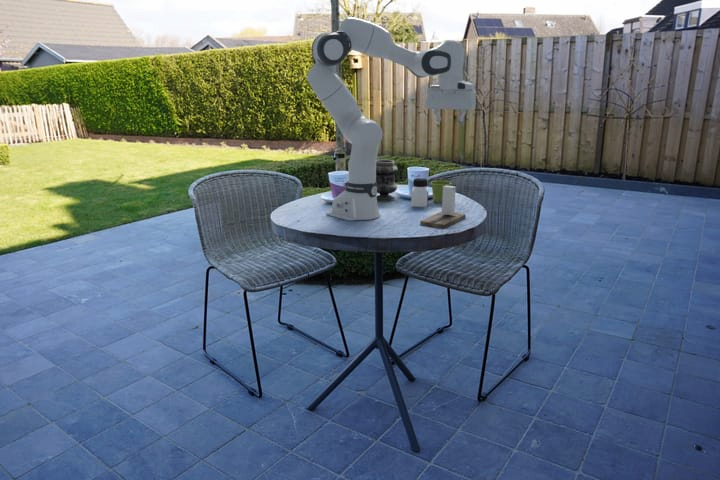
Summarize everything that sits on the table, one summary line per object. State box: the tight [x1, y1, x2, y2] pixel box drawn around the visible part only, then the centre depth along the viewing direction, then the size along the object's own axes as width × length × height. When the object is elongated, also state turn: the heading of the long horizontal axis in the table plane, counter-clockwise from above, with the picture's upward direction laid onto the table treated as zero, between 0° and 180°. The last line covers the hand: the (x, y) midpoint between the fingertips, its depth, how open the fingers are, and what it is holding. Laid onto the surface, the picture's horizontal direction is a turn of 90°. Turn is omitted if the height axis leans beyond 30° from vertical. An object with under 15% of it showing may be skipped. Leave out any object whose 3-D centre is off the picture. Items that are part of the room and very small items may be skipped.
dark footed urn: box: [376, 159, 398, 202], centre depth 231 cm, size 12×12×18 cm
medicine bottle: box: [410, 177, 429, 208], centre depth 220 cm, size 7×7×12 cm
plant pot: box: [430, 180, 452, 204], centre depth 227 cm, size 9×9×9 cm
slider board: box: [419, 211, 466, 230], centre depth 195 cm, size 10×19×2 cm, turn 145°
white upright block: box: [441, 185, 457, 215], centre depth 196 cm, size 4×3×11 cm
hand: (449, 121), depth 198 cm, fingers open, 8 cm apart
